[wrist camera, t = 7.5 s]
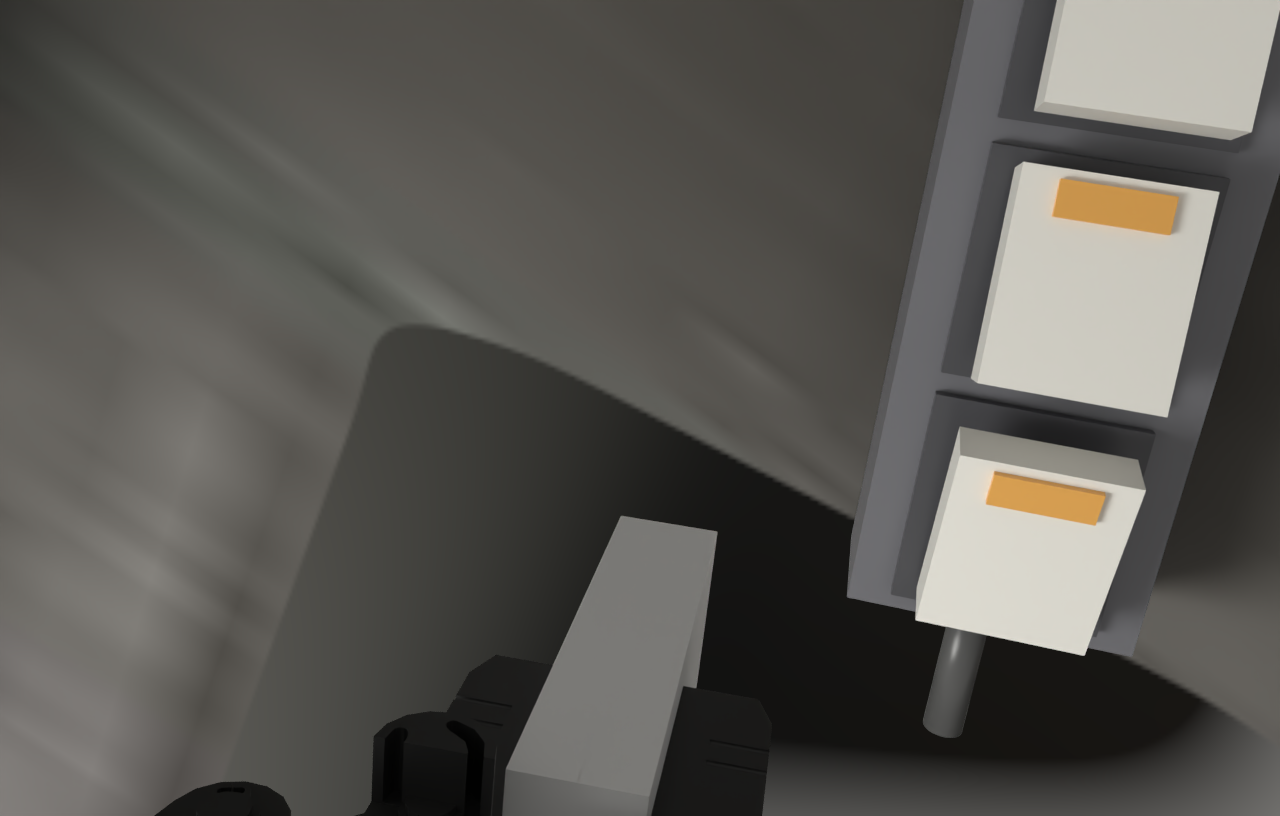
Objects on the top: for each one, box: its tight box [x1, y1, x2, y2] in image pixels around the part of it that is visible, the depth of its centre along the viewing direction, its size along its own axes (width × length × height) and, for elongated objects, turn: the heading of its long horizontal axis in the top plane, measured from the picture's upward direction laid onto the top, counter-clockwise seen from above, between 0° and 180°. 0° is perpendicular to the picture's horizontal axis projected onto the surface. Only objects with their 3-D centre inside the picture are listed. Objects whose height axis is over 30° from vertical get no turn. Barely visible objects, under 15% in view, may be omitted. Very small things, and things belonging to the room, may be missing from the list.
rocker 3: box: [916, 427, 1146, 656], centre depth 35 cm, size 5×6×2 cm
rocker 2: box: [971, 162, 1219, 417], centre depth 33 cm, size 5×6×2 cm
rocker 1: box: [1034, 0, 1280, 140], centre depth 30 cm, size 5×6×2 cm
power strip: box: [847, 0, 1280, 738], centre depth 38 cm, size 9×29×5 cm, turn 172°
